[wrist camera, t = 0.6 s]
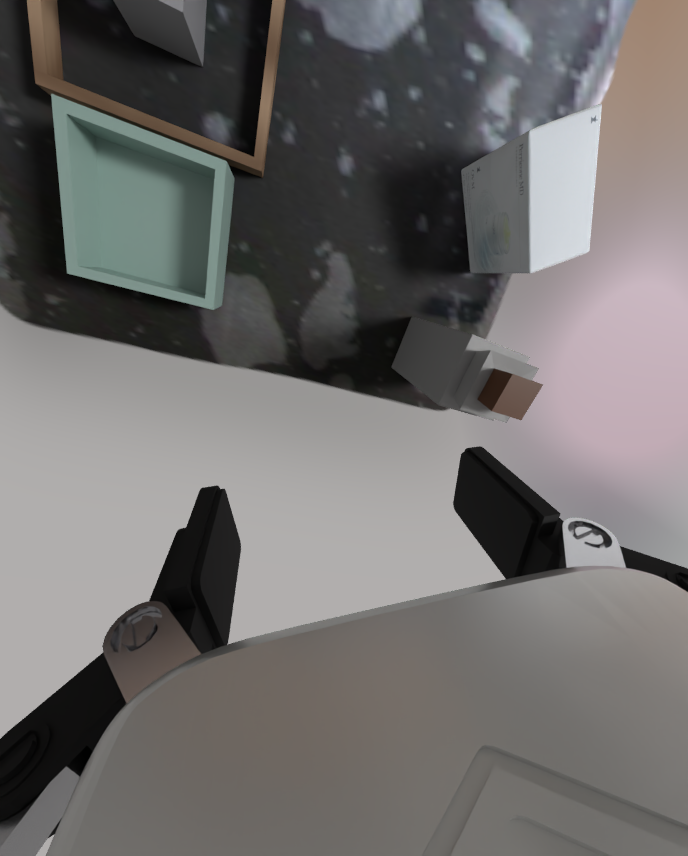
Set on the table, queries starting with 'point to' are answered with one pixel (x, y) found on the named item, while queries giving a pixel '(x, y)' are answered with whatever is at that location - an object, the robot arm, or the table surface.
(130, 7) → the stone block
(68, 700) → the robot arm
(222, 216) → the sage green bin
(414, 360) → the perfume bottle
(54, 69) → the brown wooden frame
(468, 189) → the skincare box
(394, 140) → the table surface
